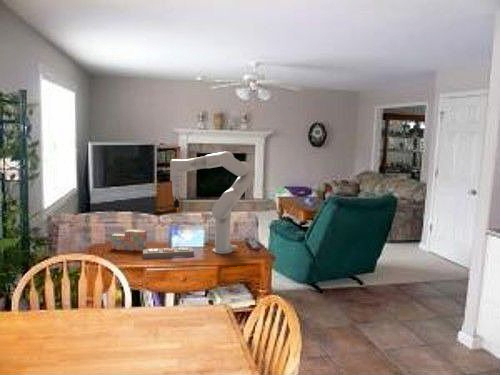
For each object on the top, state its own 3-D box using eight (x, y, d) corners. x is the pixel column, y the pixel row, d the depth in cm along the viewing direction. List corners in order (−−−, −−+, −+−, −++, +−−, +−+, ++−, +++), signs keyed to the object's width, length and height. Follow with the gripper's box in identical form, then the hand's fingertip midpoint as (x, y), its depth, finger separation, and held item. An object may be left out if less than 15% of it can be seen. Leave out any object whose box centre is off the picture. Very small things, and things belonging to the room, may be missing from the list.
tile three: (172, 251, 273) (172, 247, 273) (173, 254, 268) (173, 249, 268) (163, 252, 272) (163, 247, 272) (163, 254, 267) (163, 250, 266)
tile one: (157, 252, 271) (157, 248, 271) (158, 254, 266) (158, 250, 266) (148, 252, 270) (148, 248, 270) (148, 255, 265) (148, 250, 264)
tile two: (187, 251, 275) (187, 246, 275) (188, 253, 270) (188, 249, 270) (178, 251, 274) (178, 247, 274) (178, 253, 269) (178, 249, 268)
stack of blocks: (111, 249, 281) (110, 230, 280) (114, 247, 288) (114, 228, 286) (143, 251, 279) (143, 231, 278) (146, 248, 286) (146, 229, 284)
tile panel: (192, 251, 278) (192, 247, 278) (193, 256, 269) (193, 251, 268) (143, 254, 272) (143, 249, 271) (142, 258, 262) (142, 253, 262)
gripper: (183, 179, 275) (183, 209, 277) (181, 177, 289) (181, 205, 291) (171, 179, 273) (171, 209, 275) (169, 177, 287) (169, 205, 289)
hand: (176, 207), depth 283 cm, fingers closed
